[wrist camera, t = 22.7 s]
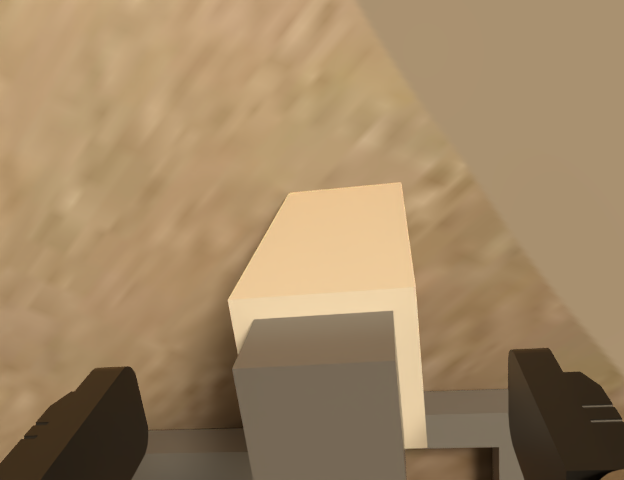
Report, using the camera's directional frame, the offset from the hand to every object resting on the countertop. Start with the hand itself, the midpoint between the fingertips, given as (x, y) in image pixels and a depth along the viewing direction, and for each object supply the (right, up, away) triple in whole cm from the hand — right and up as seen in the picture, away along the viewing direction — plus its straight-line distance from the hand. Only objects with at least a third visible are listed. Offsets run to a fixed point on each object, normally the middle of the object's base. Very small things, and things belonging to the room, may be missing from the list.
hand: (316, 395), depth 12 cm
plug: (+1, +3, +9) cm, 10 cm away
